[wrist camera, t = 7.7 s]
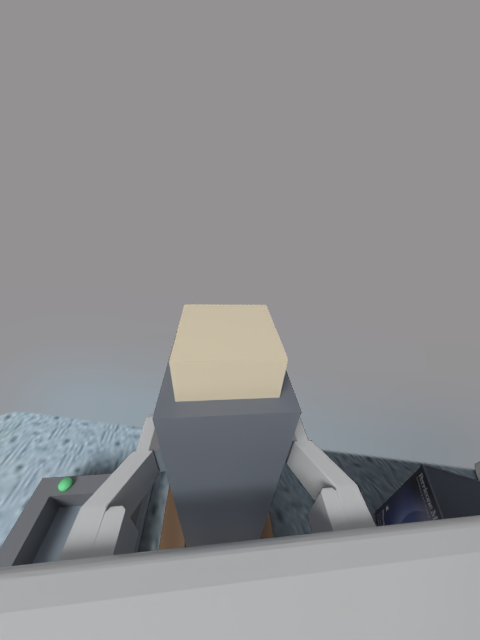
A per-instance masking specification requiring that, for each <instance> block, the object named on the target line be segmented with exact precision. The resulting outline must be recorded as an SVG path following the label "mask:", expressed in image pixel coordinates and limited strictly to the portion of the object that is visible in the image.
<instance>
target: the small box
mask: <svg viewBox="0 0 480 640" xmlns="http://www.w3.org/2000/svg"><path fill="white" fill-rule="evenodd" d="M375 515H376V521H377V526H385V525H394V524H403V523H412V522H422V521H431V520H440V519H449V518H458V517H467V516H477V515H480V481H478V480H475V479H471V478H468V477H465V476H462V475H459V474H455V473H452V472H449V471H446V470H443V469H440V468H436V467H433V466H429V465H426V464H422V466H421V467H420V468H419V469H418V470H417V472H415V473H414V474H413V475H412V476H411V477H410V478H409V479H408V480H407V481H406V482H405V483H404V484H403V485H402V486H401V487H400V488H399V489H398V490H397V491H396V492H395V493H394V494H393V495H392V496H391V497H390V498H389V499H388V500H387V501H386V502H385V503H384V504H383V505H382V506H381V507H380V508H379V509H378V510H377V511H376V512H375Z"/></svg>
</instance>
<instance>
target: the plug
mask: <svg viewBox="0 0 480 640" xmlns="http://www.w3.org/2000/svg"><path fill="white" fill-rule="evenodd" d="M287 362H288V358H287V355H286V353H285V350H284V348H283V346H282V343H281V341H280V338H279V336H278V333H277V331H276V328H275V326H274V323H273V321H272V318H271V316H270V313H269V311H268V309H267V306H266V305H187V304H185V305H184V309H183V313H182V316H181V320H180V323H179V327H178V331H177V332H176V336H175V340H174V343H173V347H172V350H171V354H170V357H169V361H168V365H167V368H166V372H165V376H164V379H163V383H162V386H161V390H160V393H159V397H158V401H157V404H156V408H155V412H154V415H153V418H152V420H153V423H154V427H155V431H156V435H157V438H158V442H159V446H160V450H161V453H162V457H163V461H164V465H165V469H166V472H167V476H168V480H169V484H170V487H171V491H172V495H173V499H174V502H175V506H176V510H177V514H178V517H179V521H180V525H181V529H182V532H183V536H184V540H185V544H186V547H192V546H201V545H210V544H220V543H229V542H238V541H247V540H256V539H260V537H261V534H262V531H263V528H264V525H265V522H266V519H267V516H268V513H269V510H270V507H271V504H272V501H273V498H274V494H275V491H276V488H277V485H278V482H279V479H280V476H281V473H282V470H283V467H284V464H285V461H286V458H287V455H288V452H289V448H290V445H291V442H292V439H293V436H294V433H295V430H296V427H297V424H298V421H299V418H300V415H301V409H300V407H299V404H298V402H297V399H296V396H295V393H294V390H293V388H292V385H291V383H290V380H289V377H288V374H287V372H286V367H287Z"/></svg>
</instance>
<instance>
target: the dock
mask: <svg viewBox="0 0 480 640" xmlns="http://www.w3.org/2000/svg"><path fill="white" fill-rule="evenodd" d="M110 475H111V474H99V475H83V476H68V477H53V478H42V480H41V482H40V483H39V485H38V487H37V488H36V490H35V491H34V493H33V495H32V496H31V498H30V500H29V501H28V503H27V505H26V506H25V508H24V510H23V511H22V513H21V515H20V516H19V518H18V520H17V521H16V523H15V525H14V526H13V528H12V530H11V531H10V533H9V535H8V536H7V538H6V540H5V541H4V543H3V545H2V546H1V548H0V567H8V566H18V565H27V564H36V563H45V562H54V561H58V559H59V557H60V554H61V552H62V550H63V548H64V545H65V543H66V541H67V538H68V536H69V534H70V531H71V529H72V527H73V524H74V522H75V520H76V517H77V515H78V513H79V510H80V508H81V507H82V506H83V505H84V504H85V503H86V501H87V500H88V499H89V498H90V497H91V496H92V495H93V494H94V493H95V492H96V491H97V490H98V488H99V487H100V486H101V485H102V484H103V483H104V482H105V481H106V480H107V479H108V478H109V477H110ZM152 486H153V484H152V485H151V487H150V488H149V490H148V491H147V493H146V494H145V496H144V497H143V499H142V500H141V502H140V503H139V505H138V506H137V508H136V509H135V511H134V512H133V514H132V515H131V517H130V518H131V520H132V522H133V523H134V525H135V527H136V528H137V530H138V537H137V542H136V546H135V551H134V553H137V552H138V550H139V546H140V541H141V536H142V532H143V527H144V523H145V518H146V514H147V509H148V504H149V500H150V495H151V491H152Z"/></svg>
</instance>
